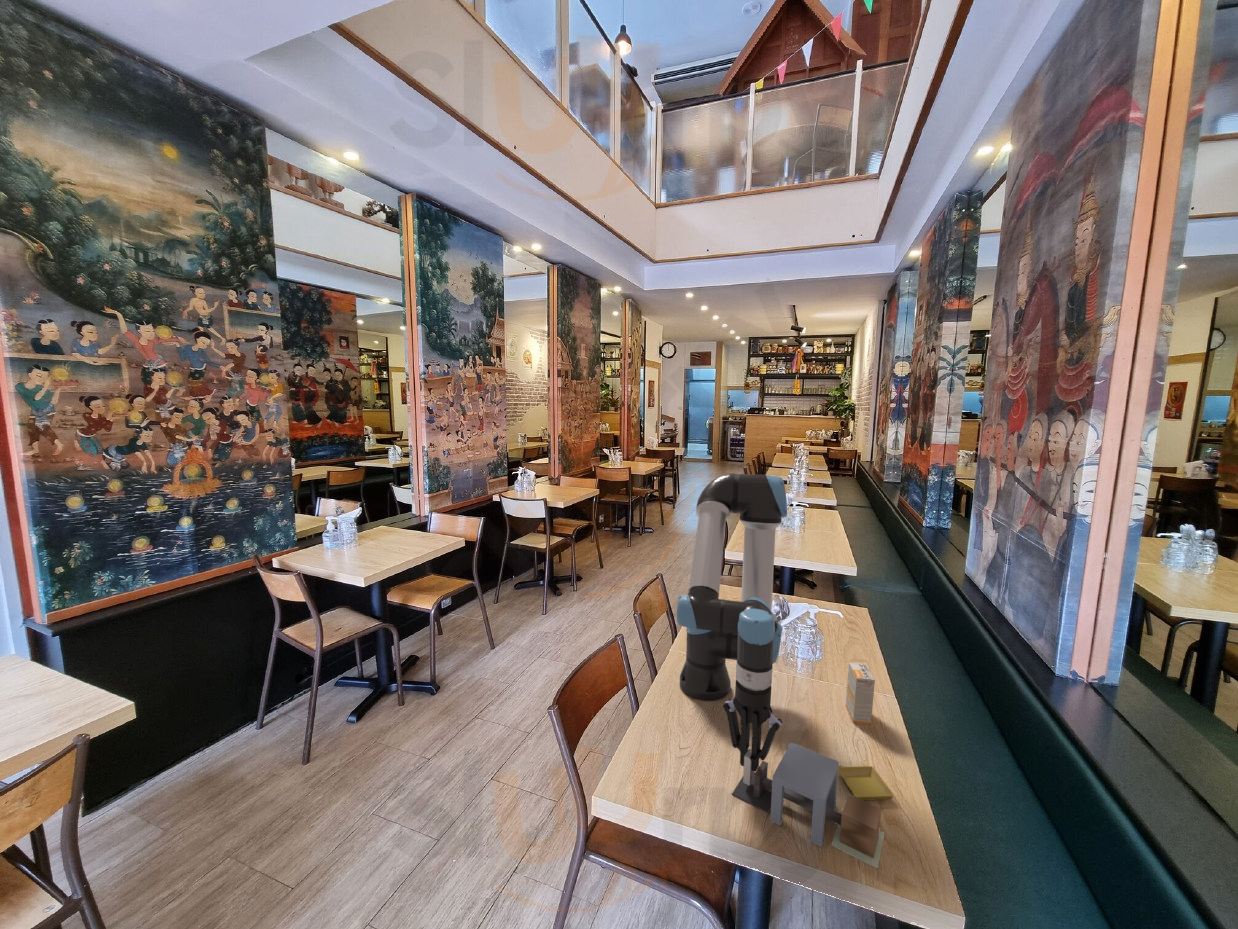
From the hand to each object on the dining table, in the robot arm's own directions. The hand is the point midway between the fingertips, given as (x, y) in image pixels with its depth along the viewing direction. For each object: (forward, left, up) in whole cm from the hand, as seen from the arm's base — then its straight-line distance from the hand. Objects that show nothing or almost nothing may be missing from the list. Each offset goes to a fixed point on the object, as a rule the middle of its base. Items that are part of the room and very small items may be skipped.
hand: (748, 780), depth 109 cm
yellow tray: (+21, +15, -2) cm, 26 cm away
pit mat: (+2, 0, -1) cm, 2 cm away
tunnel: (+12, 0, -1) cm, 12 cm away
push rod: (+14, 0, -1) cm, 14 cm away
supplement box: (+15, +42, -2) cm, 45 cm away
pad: (+23, 0, -1) cm, 23 cm away
